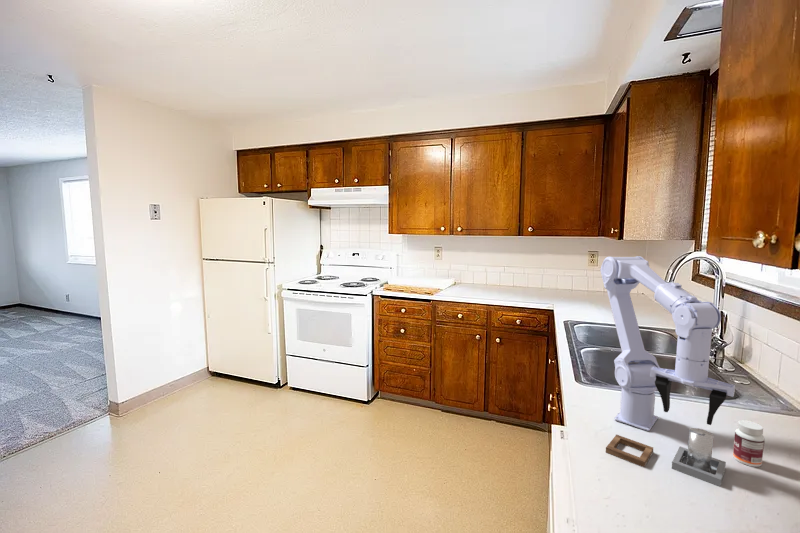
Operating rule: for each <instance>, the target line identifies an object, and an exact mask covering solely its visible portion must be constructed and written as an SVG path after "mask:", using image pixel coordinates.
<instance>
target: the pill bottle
mask: <svg viewBox="0 0 800 533" xmlns="http://www.w3.org/2000/svg"><path fill="white" fill-rule="evenodd" d="M763 434H764V426H762V425H761V424H759V423H757V422H754V421H752V420H751V421H750V420H746V419H740V420H738V421H737V428H736V429H735V431H734V440H733V449H732V456H733V458H734V459H735V461H737V462H739V463H740V464H743V465H746V466H750V467H755V468H758V467H761V466H762V464H763V455H764V450H765V449H764V447H765V436H764V435H763Z"/></svg>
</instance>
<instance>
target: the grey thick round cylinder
mask: <svg viewBox="0 0 800 533" xmlns="http://www.w3.org/2000/svg"><path fill="white" fill-rule="evenodd" d="M687 443H688V444H687V449H688V453H687V457H686V465H689V466H692V467H695V468H697V469H700V470H703V471H706V472H708V473H711V470H712V469H711V468H712V466H711V460H712V456H713V447H714V434H713V433H711V432H710V431H708V430H705V429H702V428H697V427H691V428H689V429H688V442H687Z"/></svg>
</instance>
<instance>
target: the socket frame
mask: <svg viewBox="0 0 800 533" xmlns="http://www.w3.org/2000/svg"><path fill="white" fill-rule="evenodd" d="M620 445H623V446H624V445H625V446H627V447H629V448H632V449H635V450H638V451H639V452H642V453H641V455H640V456H638V455H634V454H632V453H629V452H627V451H624V450H621V449H619V448H618V446H620ZM605 453H606V454H609V455H611V456H614V457H616V458H618V459H621V460H624V461H627V462H629V463H631V464H635V465H637V466H640V467H642V468H645V467H646V465H647V464H648V462H649V460H650V458H651V457H652V455H653V453H654V447H653V446H649V445H648V444H644V443H641V442H638V441H637V440H633V439H630V438H627V437H625V436H622V435H620V434H615V436H614V437H612V439H611V441H610V442H609V443H608V444H607V445H606V447H605Z"/></svg>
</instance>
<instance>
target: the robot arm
mask: <svg viewBox="0 0 800 533" xmlns="http://www.w3.org/2000/svg"><path fill="white" fill-rule="evenodd" d="M599 271H600V275H601V279H602V283H603V287H604V289H605V290H606V292H607V297H608V301H609V304H610V308H611V309H610V310H611V313H612V316H613V320H614V324H615V330H616V333H617V338H618V340H619V345H620V349H621V353H620V354H619V355H618V356H617V357H615V359H614V360H613V362H614V367H615V368H614V377H615V381H616V382H617V383H618V385H619V386H620V387H621V392H620V393H621V394H620V408H619V409H620V410H619V413H618V414H617V415H616V416H615V417H614V421H617V422H620V423H623V424H627V425H629V426H632V427H634V428H635V427H636V428H638V429H640V430H644V431H647V432H650V431H651V429H652V428H653V427H654V425H655V424H656V422H657V420H658V419H659V417H658V416H657V415H656V414H655V403H656V402H655V401H656V393H655V392H658V393H659V395H660V398H661V403H662V407H663V412H664V413H668V412H669V411H670V407H671V389H672V382H673V383H674V382H675V383H679V384H683V385H687V386H690V387H691V386H692V387H696V388H699V389H700V388H701V389H703V390H708V391H711V392H710V393H709V400H708V402H709V404H708V413H707V414H708V415H707V418H706V424H707V425H710V426H711V425H712V423H713V420H714V416H715V414H716V413H717V411H718V409H720V407H721V406H722V404H723V403H724V402H725V401H726V399H727V397H728V396H729V397H732V398H733V397H734V396H735V389H736V385H735V384H732V383H727V382H726V381H725V382H724V381H721V380H718V379H714V378H711V377H708V376H709V368H710V367H709V365H710V355H711V348H712V347H711V343H712V334H713V333H712V332H713V330H714V329H716V328H717V327H718V326H719V325H720V324H721V321H722V315H721V312H720V310H719V308H718V307H717V305H715V304H714V303H713V302H711V301H702V300H699V299H698V297H697V296H695V295H692V294H691V293H689V292H688V291H687V290H685V289H684V288H683V287H682V284H680V283H679V282H672V281H671V282H670V281H669V282H667V281H665V279H664V278H662V277H661V276H660V275H659V274H658V273H657V272H655V270H653V269H652V267H650V263H649V260H646V259H645V258H644V257H643V256H640V255H639V256H607V257H605V258H604V259H603V261H602V263H601V267H600V270H599ZM639 284H641V285H643V286H644V287H645V288H647V289H649V291H651V292H652V293H654V294H653V295H654V296H653V298H654V300H655V301H656V303H658V304H659V305H661V306H662V307H663V308H664V310H666V311H668V312H669V313H670V314H671V317H672V321H673V324H674V326H675V334H676V336H677V340H676V354H675V364H674V366H675V367H674V369H671V368H662V367H660V365H659V363H658V361H657V357H656V356H655V355H653V354H651V353H650V352H649V351H647V350H646V349H645V345H644V341H643V339H642V335H641V330H640V328H639V324H638V319H637V316H636V312H635V308H634V306H633V302H632V298H631V294H630V293H631V291H632V290H634V289H636V288H637V286H638V285H639Z"/></svg>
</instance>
